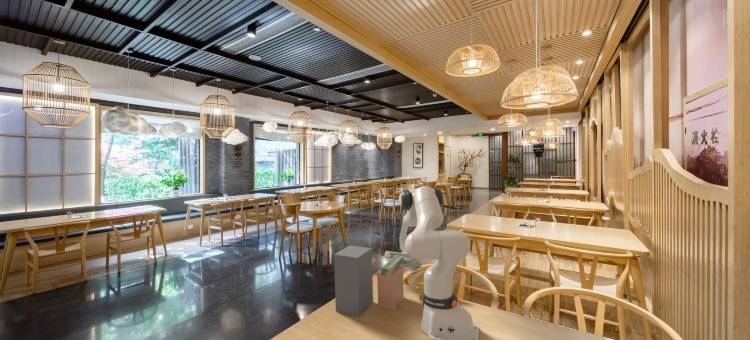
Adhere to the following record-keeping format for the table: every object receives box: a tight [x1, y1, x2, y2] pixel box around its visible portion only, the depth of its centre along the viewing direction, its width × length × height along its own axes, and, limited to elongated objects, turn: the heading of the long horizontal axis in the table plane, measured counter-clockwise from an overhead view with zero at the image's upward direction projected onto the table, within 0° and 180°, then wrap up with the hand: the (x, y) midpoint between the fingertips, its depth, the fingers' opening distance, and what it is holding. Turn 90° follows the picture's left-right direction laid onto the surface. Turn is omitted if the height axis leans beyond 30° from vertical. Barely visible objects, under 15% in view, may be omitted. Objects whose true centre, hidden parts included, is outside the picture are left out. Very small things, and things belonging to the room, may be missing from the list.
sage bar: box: [380, 255, 403, 276], centre depth 136 cm, size 4×19×3 cm, turn 155°
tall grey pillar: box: [333, 245, 374, 318], centre depth 130 cm, size 12×14×26 cm
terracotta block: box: [376, 265, 405, 311], centre depth 133 cm, size 8×12×16 cm, turn 155°
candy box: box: [418, 281, 454, 301], centre depth 135 cm, size 16×2×8 cm, turn 88°
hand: (399, 254), depth 144 cm, fingers open, 8 cm apart
